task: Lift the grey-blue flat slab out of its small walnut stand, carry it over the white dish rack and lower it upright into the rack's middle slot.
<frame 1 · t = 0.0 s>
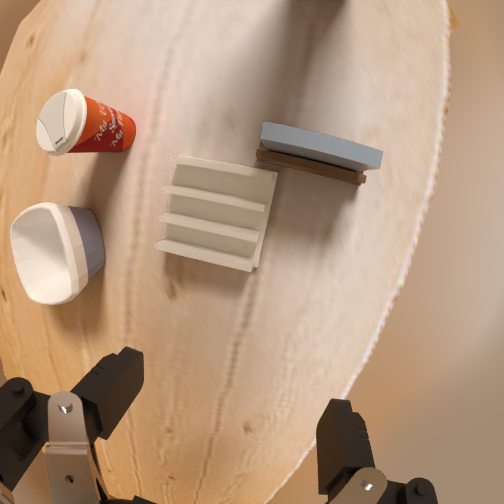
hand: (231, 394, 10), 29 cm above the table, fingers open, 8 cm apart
rack: (217, 209, 38), on the table
stand: (313, 154, 35), on the table
bowl: (81, 241, 43), on the table
coffee cup: (120, 133, 37), on the table
grey-blue flat slab: (313, 153, 34), point 1 cm above the table, touching stand
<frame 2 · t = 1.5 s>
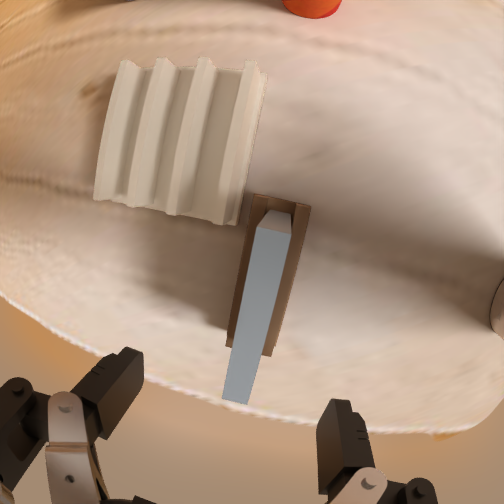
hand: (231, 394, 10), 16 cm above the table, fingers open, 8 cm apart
rack: (184, 138, 24), on the table
stand: (266, 274, 26), on the table
coffee cup: (311, 0, 19), on the table
grey-blue flat slab: (265, 276, 25), point 1 cm above the table, touching stand
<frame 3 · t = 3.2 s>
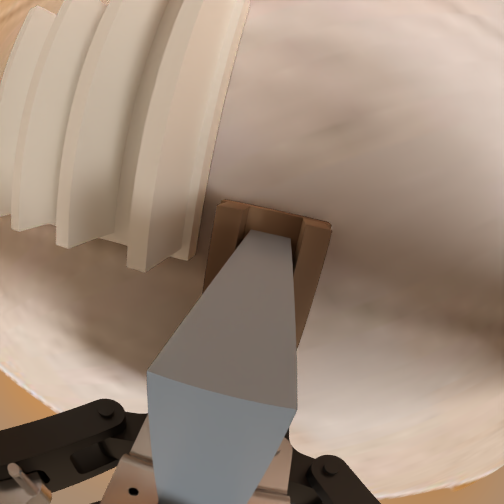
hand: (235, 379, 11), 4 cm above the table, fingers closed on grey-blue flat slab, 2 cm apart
rack: (111, 109, 13), on the table
stand: (248, 338, 15), on the table
grey-blue flat slab: (245, 346, 14), point 1 cm above the table, touching gripper, stand
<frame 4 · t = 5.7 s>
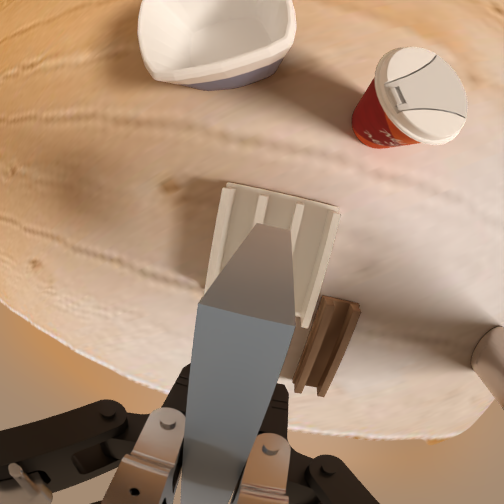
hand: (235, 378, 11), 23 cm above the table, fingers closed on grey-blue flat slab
rack: (270, 251, 34), on the table
stand: (324, 344, 36), on the table
bowl: (231, 52, 29), on the table
coffee cup: (374, 125, 29), on the table
grey-blue flat slab: (250, 326, 16), point 18 cm above the table, touching gripper
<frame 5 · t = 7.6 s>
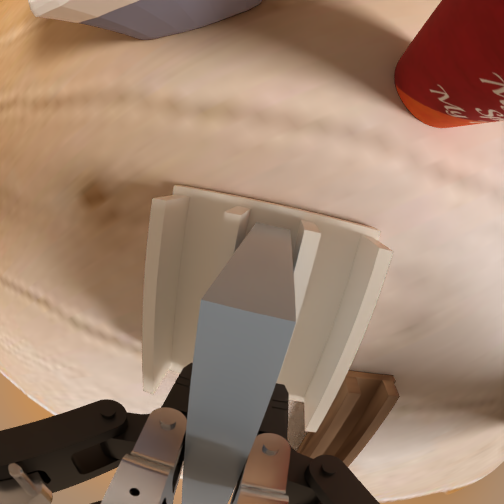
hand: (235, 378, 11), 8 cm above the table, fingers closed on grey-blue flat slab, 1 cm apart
rack: (255, 305, 19), on the table
stand: (336, 427, 21), on the table
coffee cup: (430, 89, 14), on the table
grey-blue flat slab: (250, 325, 16), point 3 cm above the table, touching gripper
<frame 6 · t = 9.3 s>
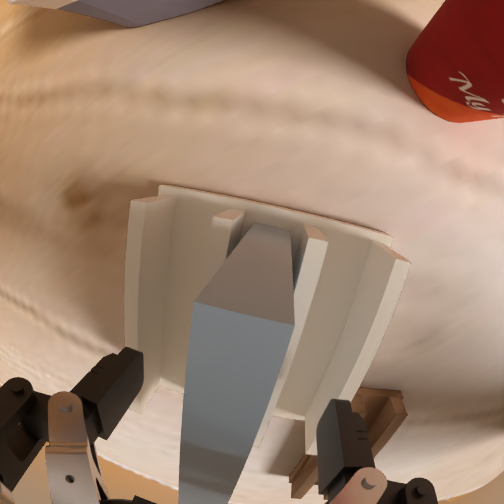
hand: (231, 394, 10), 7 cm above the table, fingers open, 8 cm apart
rack: (252, 318, 17), on the table
stand: (339, 443, 19), on the table
coffee cup: (444, 80, 12), on the table
grey-blue flat slab: (249, 327, 16), point 1 cm above the table, touching rack
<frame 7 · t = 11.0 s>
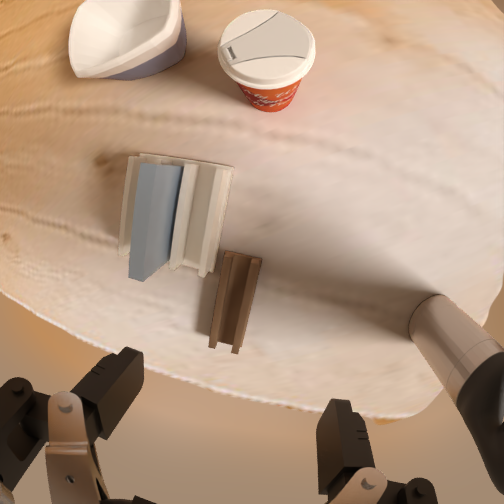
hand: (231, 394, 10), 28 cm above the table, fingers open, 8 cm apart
rack: (177, 210, 37), on the table
stand: (234, 301, 40), on the table
bowl: (151, 46, 31), on the table
coffee cup: (270, 91, 32), on the table
grey-blue flat slab: (174, 211, 36), point 1 cm above the table, touching rack
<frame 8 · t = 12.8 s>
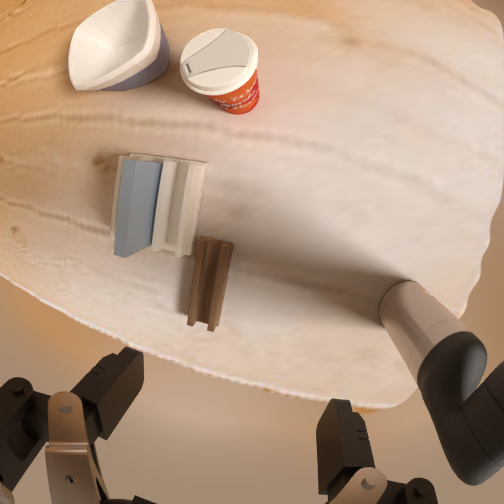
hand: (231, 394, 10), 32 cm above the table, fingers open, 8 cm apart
rack: (161, 202, 42), on the table
stand: (210, 282, 44), on the table
bowl: (140, 60, 37), on the table
coffee cup: (239, 96, 37), on the table
grey-blue flat slab: (158, 202, 41), point 1 cm above the table, touching rack
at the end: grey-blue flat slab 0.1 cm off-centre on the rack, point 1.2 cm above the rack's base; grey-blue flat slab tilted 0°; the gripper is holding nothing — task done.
